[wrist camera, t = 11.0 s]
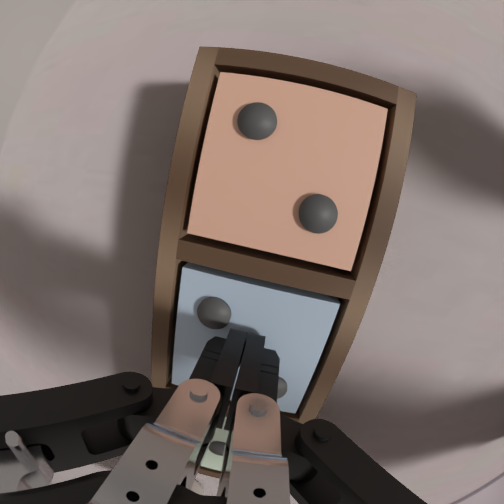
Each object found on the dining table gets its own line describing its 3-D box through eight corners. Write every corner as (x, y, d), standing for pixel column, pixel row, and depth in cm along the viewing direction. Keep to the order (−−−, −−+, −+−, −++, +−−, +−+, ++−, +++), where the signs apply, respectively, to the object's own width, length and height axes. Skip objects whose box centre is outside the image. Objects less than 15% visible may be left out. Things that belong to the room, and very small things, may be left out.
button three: (295, 377, 15) (295, 416, 12) (189, 352, 16) (170, 385, 13) (330, 278, 14) (340, 306, 10) (203, 249, 14) (180, 268, 11)
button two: (337, 252, 13) (352, 272, 10) (208, 221, 14) (185, 234, 10) (367, 123, 11) (389, 107, 8) (234, 93, 12) (219, 70, 9)
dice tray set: (276, 440, 19) (272, 488, 15) (175, 415, 20) (154, 458, 15) (379, 117, 13) (416, 93, 8) (225, 83, 13) (199, 46, 9)
